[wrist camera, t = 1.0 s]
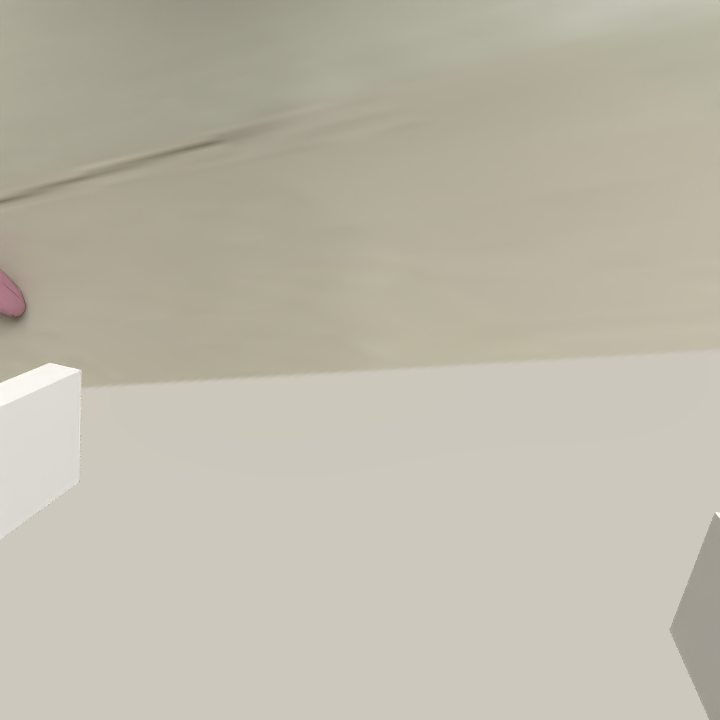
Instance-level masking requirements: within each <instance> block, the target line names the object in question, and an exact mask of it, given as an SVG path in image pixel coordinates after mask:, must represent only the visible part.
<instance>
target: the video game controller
mask: <svg viewBox="0 0 720 720" xmlns="http://www.w3.org/2000/svg"><path fill="white" fill-rule="evenodd" d="M24 310H25V302H24V299H23V296H22V294H21V292H20V291H19V289H18V288H17V286H16V285H15V284H14V283H13V282H12V280H11V279H10V278H9V277H8V276H7V275H6V274H5V273H3V272H2V271H1V270H0V313H1V314H4V315H6V316H9V317H17V316H20V315H22V314H23V312H24Z"/></svg>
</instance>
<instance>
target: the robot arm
mask: <svg viewBox="0 0 720 720" xmlns="http://www.w3.org/2000/svg"><path fill="white" fill-rule="evenodd" d="M81 375H82V370H79V369H75V368H70V367H66V366H61V365H57V364H52V363H48V364H46V365H43V366H41V367H38V368H36V369H33V370H31V371H29V372H26V373H24V374H21V375H19V376H16V377H14V378H11V379H9V380H6V381H4V382H1V383H0V540H1V539H2V538H4V537H5V536H6V535H8V534H9V533H10V532H12V531H13V530H15V529H16V528H17V527H19V526H20V525H21V524H23V523H24V522H25V521H27V520H28V519H30V518H31V517H32V516H34V515H35V514H36V513H38V512H39V511H40V510H42V509H43V508H45V507H46V506H47V505H49V504H50V503H51V502H53V501H54V500H56V499H57V498H58V497H60V496H61V495H62V494H64V493H65V492H66V491H68V490H69V489H70V488H72V487H73V486H75V485H76V484H77V483H79V482H80V430H81ZM670 632H671V634H672V636H673V639H674V641H675V643H676V646H677V648H678V650H679V652H680V655H681V657H682V659H683V661H684V664H685V666H686V668H687V670H688V673H689V675H690V677H691V679H692V682H693V684H694V686H695V688H696V690H697V693H698V695H699V697H700V700H701V702H702V704H703V706H704V709H705V711H706V713H707V715H708V718H709V720H720V513H717V512H715V513H714V516H713V518H712V521H711V524H710V526H709V529H708V532H707V534H706V537H705V539H704V542H703V544H702V547H701V550H700V553H699V555H698V557H697V560H696V563H695V565H694V568H693V571H692V573H691V576H690V578H689V581H688V584H687V586H686V589H685V591H684V594H683V597H682V599H681V602H680V604H679V607H678V610H677V612H676V615H675V617H674V620H673V623H672V625H671V628H670Z"/></svg>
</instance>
